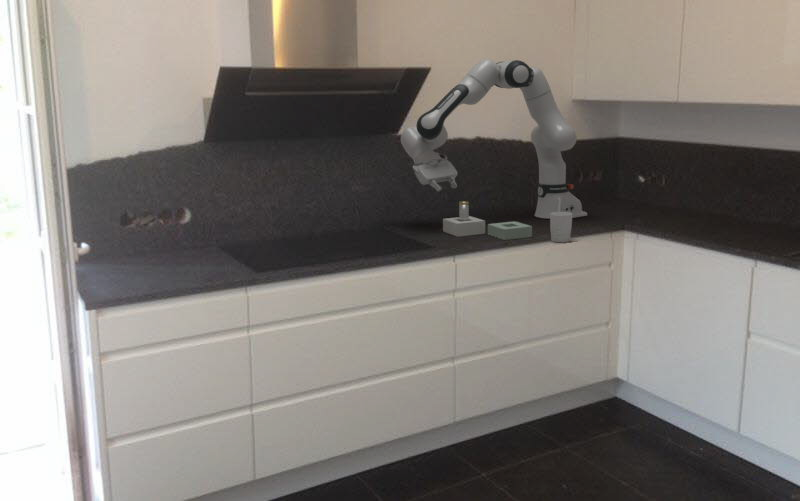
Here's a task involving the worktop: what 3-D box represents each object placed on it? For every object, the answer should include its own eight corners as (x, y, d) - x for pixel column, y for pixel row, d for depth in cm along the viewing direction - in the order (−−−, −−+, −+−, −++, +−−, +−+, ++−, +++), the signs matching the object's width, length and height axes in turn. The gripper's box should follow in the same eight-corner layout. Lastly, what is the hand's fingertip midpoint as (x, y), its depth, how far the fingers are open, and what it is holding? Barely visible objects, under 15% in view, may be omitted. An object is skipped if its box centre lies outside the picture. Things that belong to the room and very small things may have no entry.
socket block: (514, 231, 288) (515, 221, 287) (532, 236, 277) (532, 226, 276) (487, 234, 283) (487, 224, 282) (503, 240, 272) (504, 229, 272)
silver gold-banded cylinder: (465, 231, 291) (465, 200, 288) (470, 232, 287) (470, 202, 285) (457, 232, 289) (457, 201, 287) (462, 233, 286) (461, 202, 283)
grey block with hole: (470, 228, 296) (470, 216, 295) (485, 233, 285) (485, 220, 284) (443, 231, 291) (442, 218, 290) (457, 236, 281) (457, 223, 279)
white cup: (553, 238, 274) (554, 211, 272) (574, 239, 270) (575, 212, 268) (546, 242, 268) (546, 214, 265) (567, 243, 264) (568, 216, 261)
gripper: (414, 159, 285) (435, 186, 280) (448, 154, 299) (467, 180, 295) (406, 170, 288) (426, 197, 284) (439, 165, 303) (459, 190, 299)
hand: (447, 188), depth 290 cm, fingers open, 8 cm apart
